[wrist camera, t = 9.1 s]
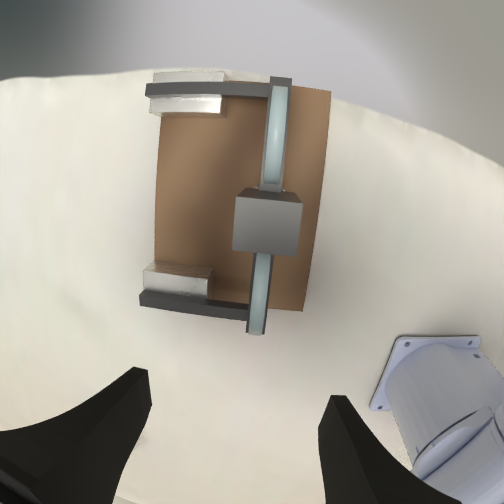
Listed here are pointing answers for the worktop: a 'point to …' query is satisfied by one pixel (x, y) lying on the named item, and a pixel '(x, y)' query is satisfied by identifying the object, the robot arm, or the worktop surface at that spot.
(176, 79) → the stand
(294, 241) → the bar clamp
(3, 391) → the worktop surface
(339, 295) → the worktop surface
